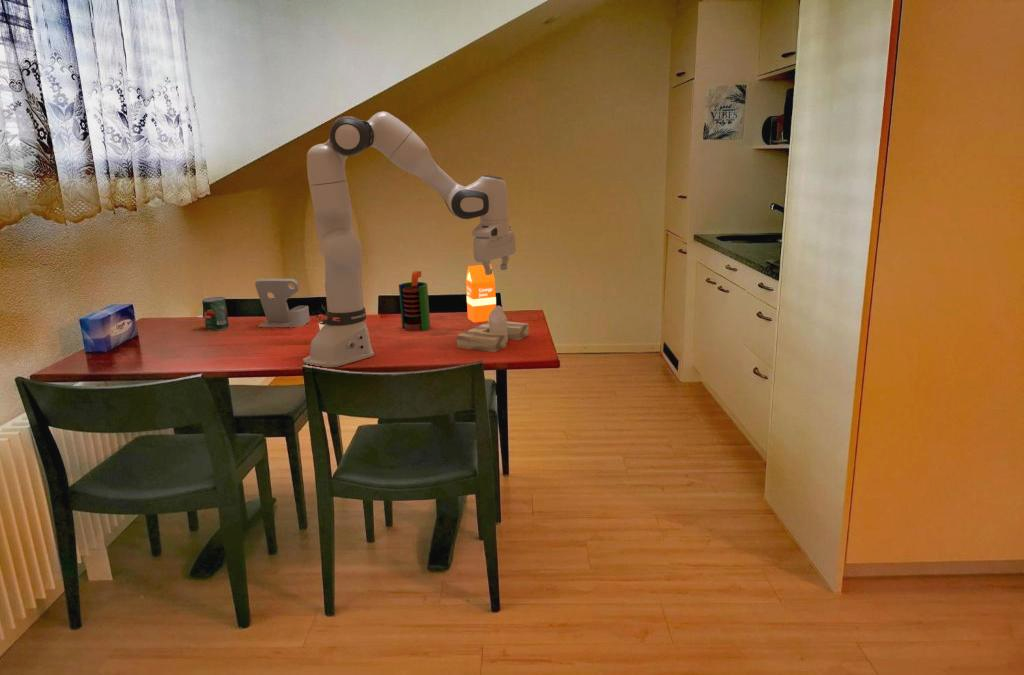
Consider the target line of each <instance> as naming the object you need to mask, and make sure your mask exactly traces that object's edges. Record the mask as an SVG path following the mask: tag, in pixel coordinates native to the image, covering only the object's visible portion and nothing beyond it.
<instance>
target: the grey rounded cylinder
mask: <svg viewBox="0 0 1024 675" xmlns="http://www.w3.org/2000/svg"><path fill="white" fill-rule="evenodd" d="M488 322H489V333H496V334H505V335H506V344H507V343H508V340H509V339H508V332H507V322H508V318H507V315H506V314H505V312H504V311H503V307H502V306H500V305H496V307H495V308H494V309H493V310H492V312H491V313H490V315H489V321H488Z"/></svg>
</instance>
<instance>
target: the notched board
mask: <svg viewBox="0 0 1024 675" xmlns="http://www.w3.org/2000/svg"><path fill="white" fill-rule="evenodd" d="M507 332H508V340H513V341H520V340H522V339H525V338H526V337H529V335H530V329H529V323H524V322H515V321H507ZM456 346H457V348H459V349H466V350H468V349H469V350H475V351H481V352H489V353H497V352H498V351H500V350H503V349H505V348H507V343H506V335H505V334H496V333H489V321H486V322H484V323H482V324H480V325H478V326H476V327H474V328H473V327H472V328H471V329H468V330H466V331H463V332H460V333H459V334H457V335H456Z"/></svg>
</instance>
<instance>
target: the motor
mask: <svg viewBox="0 0 1024 675" xmlns="http://www.w3.org/2000/svg"><path fill="white" fill-rule="evenodd" d="M419 278H422V271H420V270H414V271H412V274H411V281H410V282H404V283H400V284H398V294H399V304H400V305H399V306H400V315H401V316H400V317H401V318H400V319H401V327H402V329H404V330H405V331H408V332H418V331H422V332H423V331H427V330H429V329H430V328H431V319H430V318H431V317H430V307H429V292H428V290H429V288H428V283H427V282H424V281H419Z"/></svg>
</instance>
